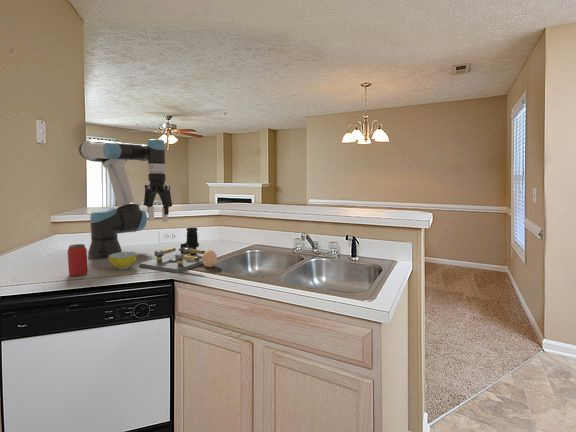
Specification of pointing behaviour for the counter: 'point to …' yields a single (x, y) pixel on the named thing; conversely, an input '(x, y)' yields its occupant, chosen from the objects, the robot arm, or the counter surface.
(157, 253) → the knob near
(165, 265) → the base
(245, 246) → the counter surface
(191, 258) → the knob
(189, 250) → the knob
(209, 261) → the egg
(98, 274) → the counter surface
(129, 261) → the bowl
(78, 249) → the beer can
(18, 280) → the counter surface
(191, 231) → the scope
